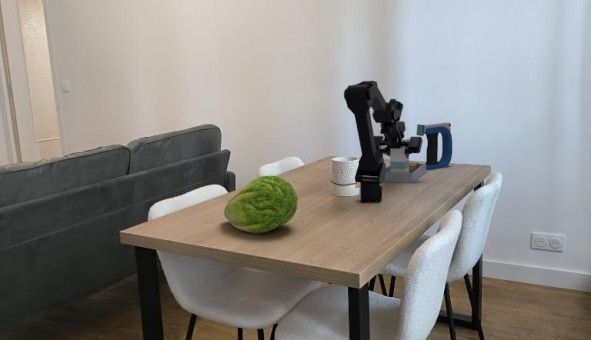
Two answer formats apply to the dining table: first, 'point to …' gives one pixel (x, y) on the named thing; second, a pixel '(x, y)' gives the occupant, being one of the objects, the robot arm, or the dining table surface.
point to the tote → (405, 175)
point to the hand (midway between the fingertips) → (400, 157)
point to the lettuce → (262, 205)
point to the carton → (399, 161)
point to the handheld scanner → (432, 144)
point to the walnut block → (413, 166)
